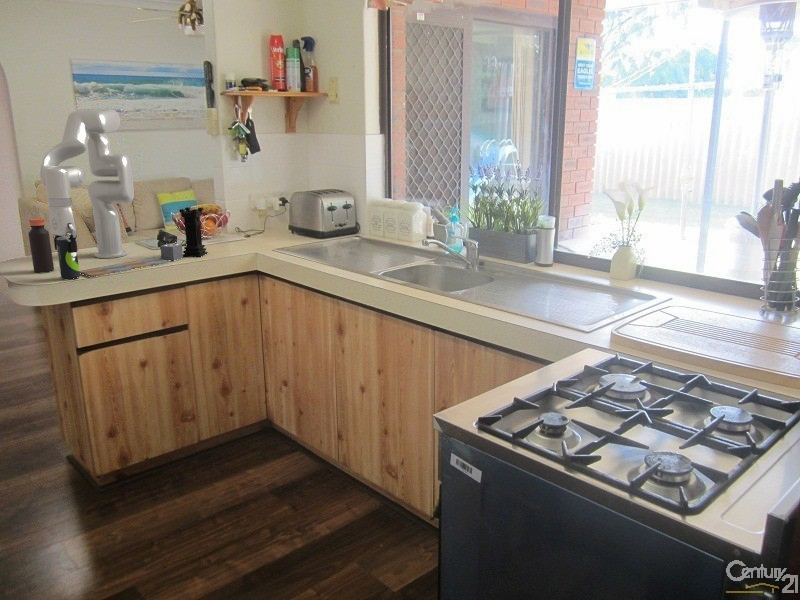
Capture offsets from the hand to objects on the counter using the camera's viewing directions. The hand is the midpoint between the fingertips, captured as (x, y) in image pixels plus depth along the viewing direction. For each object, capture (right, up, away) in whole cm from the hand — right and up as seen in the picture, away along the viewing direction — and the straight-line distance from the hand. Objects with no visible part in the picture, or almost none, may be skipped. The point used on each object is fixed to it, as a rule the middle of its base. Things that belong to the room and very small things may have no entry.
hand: (66, 250), depth 232 cm
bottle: (-16, -7, +14) cm, 22 cm away
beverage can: (0, -10, +3) cm, 11 cm away
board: (+13, -5, +19) cm, 24 cm away
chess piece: (+33, +1, +43) cm, 54 cm away
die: (+26, -1, +35) cm, 44 cm away
